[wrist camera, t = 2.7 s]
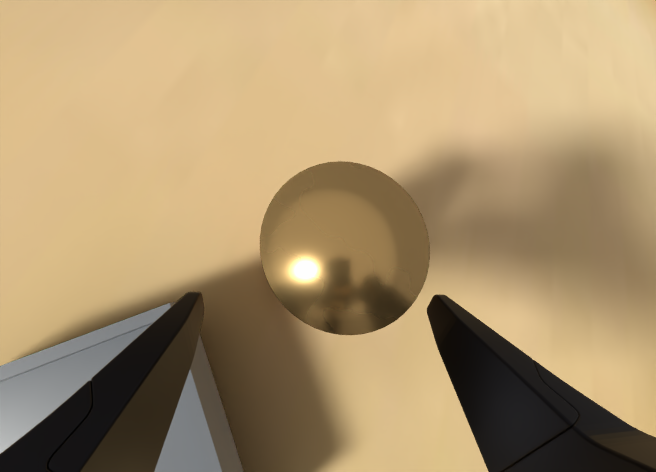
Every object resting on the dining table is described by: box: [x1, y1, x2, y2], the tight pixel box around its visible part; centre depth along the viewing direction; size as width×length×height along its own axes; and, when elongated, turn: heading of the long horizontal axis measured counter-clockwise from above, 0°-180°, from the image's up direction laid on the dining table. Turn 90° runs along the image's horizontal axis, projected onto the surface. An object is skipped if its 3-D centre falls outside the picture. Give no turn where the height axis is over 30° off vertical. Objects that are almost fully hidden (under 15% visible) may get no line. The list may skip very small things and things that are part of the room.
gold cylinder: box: [260, 162, 430, 335], centre depth 13 cm, size 5×5×12 cm
